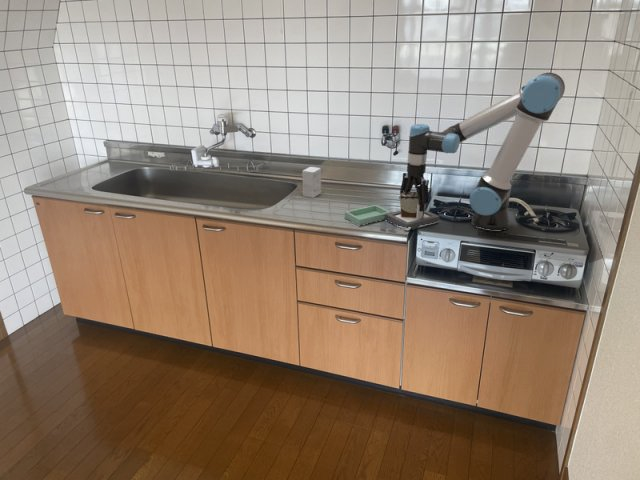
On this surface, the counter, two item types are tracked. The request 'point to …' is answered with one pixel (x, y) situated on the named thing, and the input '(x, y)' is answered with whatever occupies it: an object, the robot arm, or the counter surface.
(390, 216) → the base
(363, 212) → the trough tray
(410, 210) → the food container
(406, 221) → the checker plate
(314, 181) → the small box
